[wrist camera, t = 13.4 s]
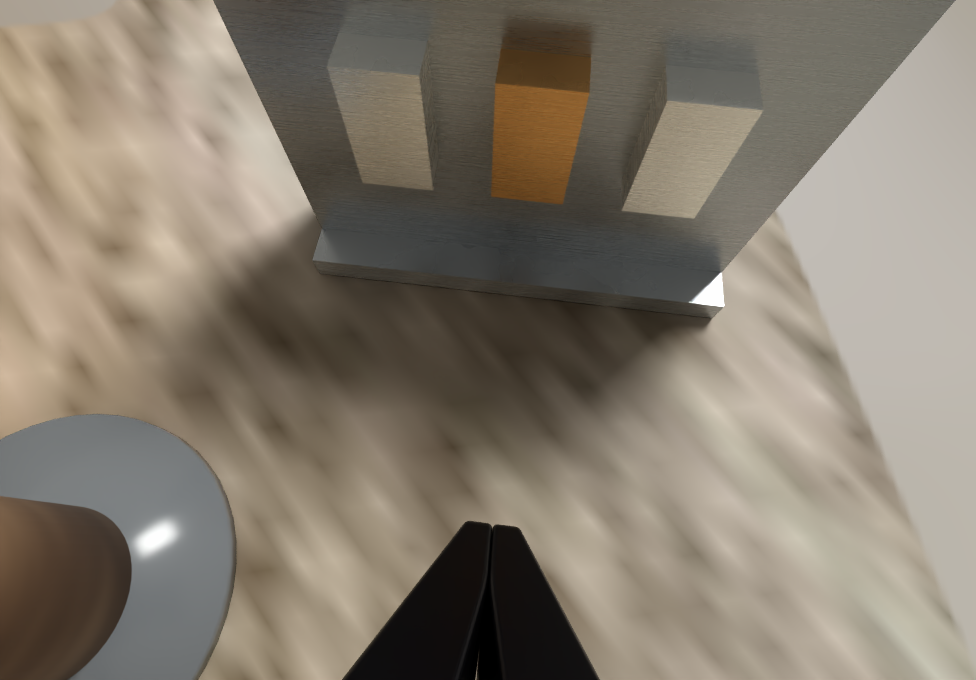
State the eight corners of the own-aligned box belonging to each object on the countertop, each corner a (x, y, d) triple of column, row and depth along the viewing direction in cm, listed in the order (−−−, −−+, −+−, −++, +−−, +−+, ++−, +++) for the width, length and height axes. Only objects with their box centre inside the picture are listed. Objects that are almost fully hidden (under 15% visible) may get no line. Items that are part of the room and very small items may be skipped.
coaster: (120, 875, 13) (104, 889, 13) (-234, 745, 14) (-264, 753, 13) (291, 464, 17) (285, 460, 17) (11, 385, 18) (-3, 380, 18)
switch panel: (712, 318, 20) (1001, 24, 9) (319, 273, 20) (135, -58, 9) (704, 198, 22) (924, -150, 11) (352, 161, 23) (235, -209, 12)
